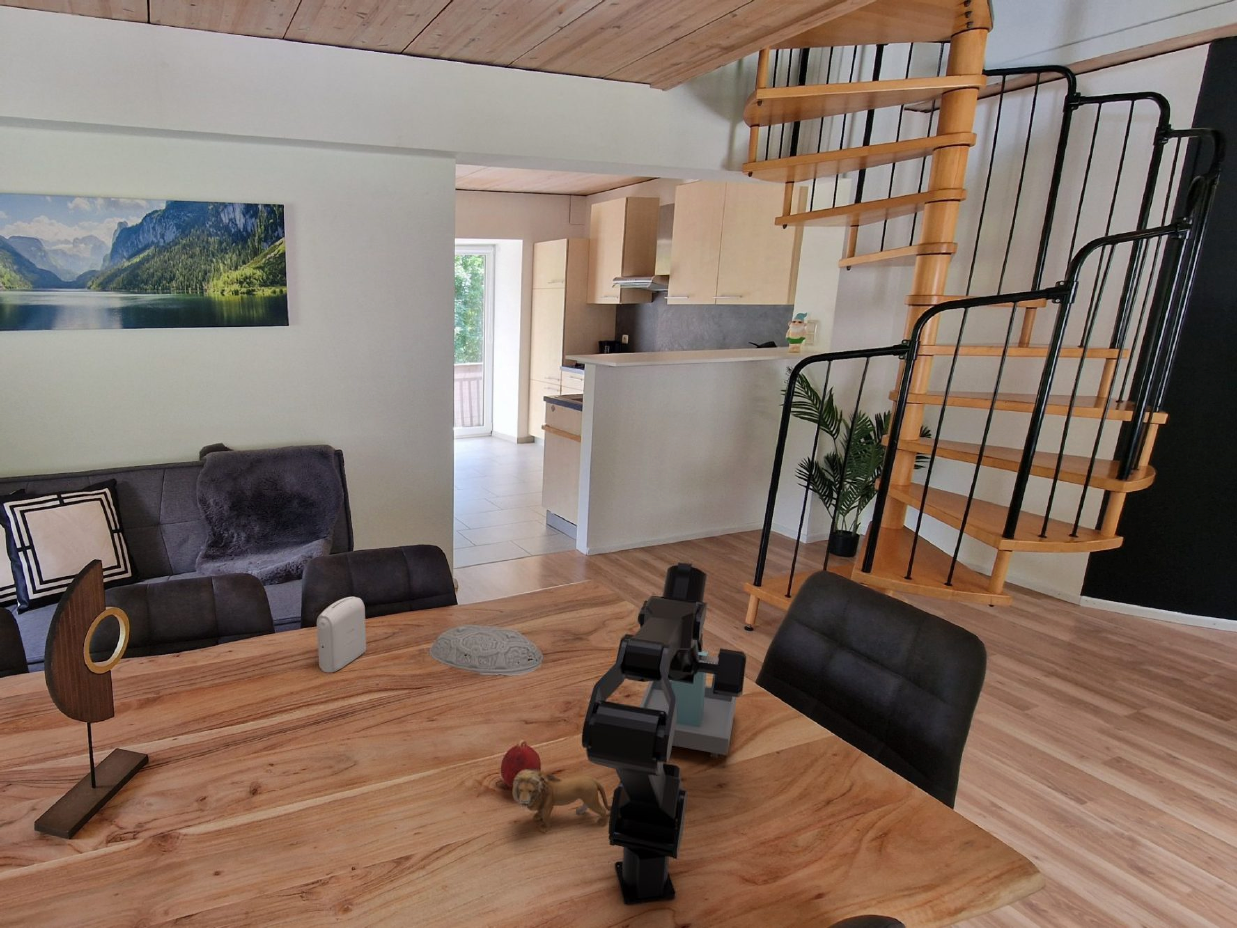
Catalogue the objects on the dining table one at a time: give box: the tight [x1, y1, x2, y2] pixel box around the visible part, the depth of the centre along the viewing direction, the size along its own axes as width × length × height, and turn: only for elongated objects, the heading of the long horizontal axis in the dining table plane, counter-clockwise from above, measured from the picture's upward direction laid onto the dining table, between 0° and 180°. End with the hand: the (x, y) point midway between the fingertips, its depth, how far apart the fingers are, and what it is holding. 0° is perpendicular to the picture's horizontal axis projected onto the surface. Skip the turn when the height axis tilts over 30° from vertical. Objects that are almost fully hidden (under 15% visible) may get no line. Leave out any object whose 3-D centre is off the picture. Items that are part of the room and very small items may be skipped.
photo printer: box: [316, 596, 367, 674], centre depth 144 cm, size 10×4×12 cm, turn 160°
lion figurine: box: [512, 769, 612, 834], centre depth 103 cm, size 15×5×9 cm, turn 110°
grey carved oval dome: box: [429, 624, 544, 677], centre depth 150 cm, size 16×25×7 cm, turn 77°
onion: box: [500, 739, 542, 790], centre depth 109 cm, size 6×6×8 cm
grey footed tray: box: [639, 680, 737, 759], centre depth 126 cm, size 15×15×5 cm
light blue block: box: [672, 650, 709, 727], centre depth 124 cm, size 5×5×11 cm
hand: (684, 681), depth 117 cm, fingers open, 9 cm apart
